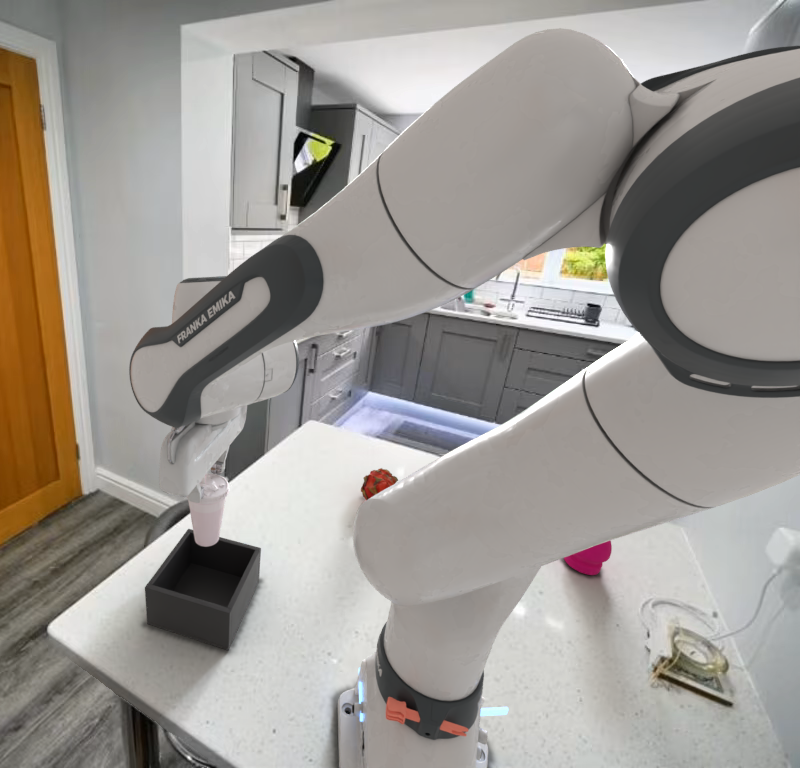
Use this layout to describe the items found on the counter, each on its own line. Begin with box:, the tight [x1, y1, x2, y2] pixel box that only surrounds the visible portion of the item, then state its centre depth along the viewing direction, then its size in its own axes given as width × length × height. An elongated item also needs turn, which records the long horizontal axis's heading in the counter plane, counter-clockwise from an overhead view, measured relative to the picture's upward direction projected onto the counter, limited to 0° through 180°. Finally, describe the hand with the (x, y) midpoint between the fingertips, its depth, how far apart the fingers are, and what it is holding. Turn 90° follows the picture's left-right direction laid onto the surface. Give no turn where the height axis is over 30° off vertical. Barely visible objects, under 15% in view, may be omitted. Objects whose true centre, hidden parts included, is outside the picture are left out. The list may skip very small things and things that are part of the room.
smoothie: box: [186, 472, 230, 547], centre depth 64 cm, size 6×6×14 cm
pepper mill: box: [563, 540, 613, 576], centre depth 83 cm, size 7×7×20 cm
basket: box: [144, 528, 262, 651], centre depth 71 cm, size 14×14×8 cm
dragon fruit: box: [360, 467, 399, 501], centre depth 98 cm, size 8×8×12 cm
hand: (207, 484), depth 63 cm, fingers closed on smoothie, 6 cm apart
